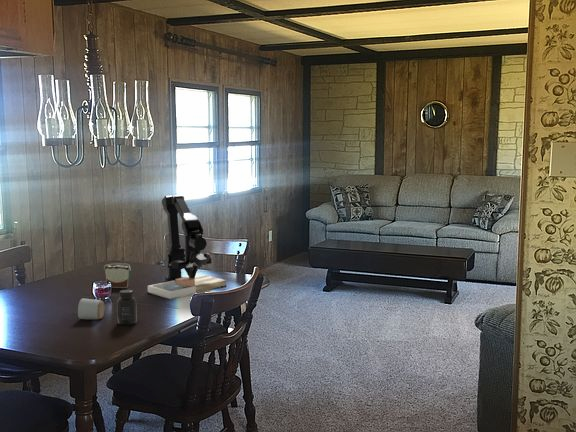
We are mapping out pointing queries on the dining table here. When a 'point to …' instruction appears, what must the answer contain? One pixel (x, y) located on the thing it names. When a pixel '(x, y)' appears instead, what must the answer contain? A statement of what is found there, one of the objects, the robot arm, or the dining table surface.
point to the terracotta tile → (185, 281)
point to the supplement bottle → (127, 308)
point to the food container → (117, 274)
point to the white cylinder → (90, 309)
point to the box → (159, 290)
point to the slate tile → (173, 287)
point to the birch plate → (207, 283)
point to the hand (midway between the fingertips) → (192, 281)
